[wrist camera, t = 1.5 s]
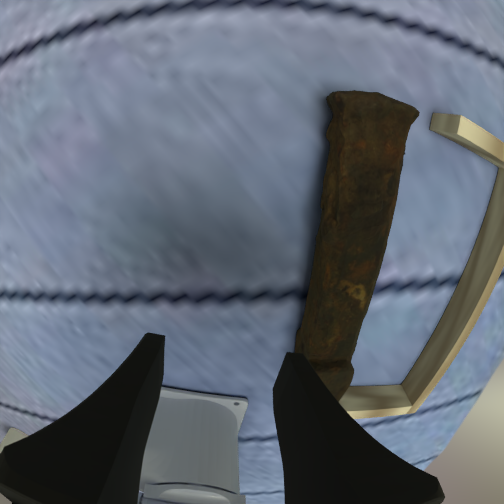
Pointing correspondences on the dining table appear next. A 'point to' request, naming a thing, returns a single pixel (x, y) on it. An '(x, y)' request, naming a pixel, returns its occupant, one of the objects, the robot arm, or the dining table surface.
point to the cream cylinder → (12, 437)
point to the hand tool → (352, 227)
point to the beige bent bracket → (463, 300)
